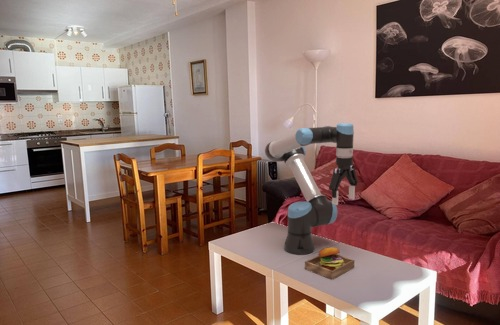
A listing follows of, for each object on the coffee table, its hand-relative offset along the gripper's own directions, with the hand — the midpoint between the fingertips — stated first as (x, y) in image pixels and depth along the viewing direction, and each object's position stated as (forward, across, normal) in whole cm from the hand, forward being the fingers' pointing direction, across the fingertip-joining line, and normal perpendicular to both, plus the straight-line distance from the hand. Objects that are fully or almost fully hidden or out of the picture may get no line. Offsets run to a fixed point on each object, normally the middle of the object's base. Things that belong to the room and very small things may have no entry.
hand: (343, 201), depth 179 cm
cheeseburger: (+26, -16, -4) cm, 31 cm away
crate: (+27, -16, -4) cm, 31 cm away
